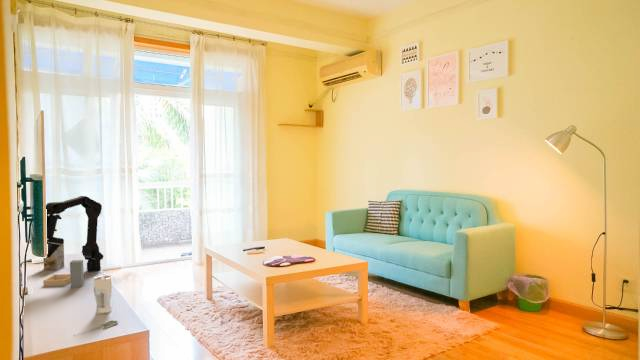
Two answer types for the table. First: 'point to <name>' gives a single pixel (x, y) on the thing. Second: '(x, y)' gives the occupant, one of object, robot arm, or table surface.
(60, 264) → the coffee box
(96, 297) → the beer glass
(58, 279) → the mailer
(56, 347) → the table surface
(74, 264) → the slate block
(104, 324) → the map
